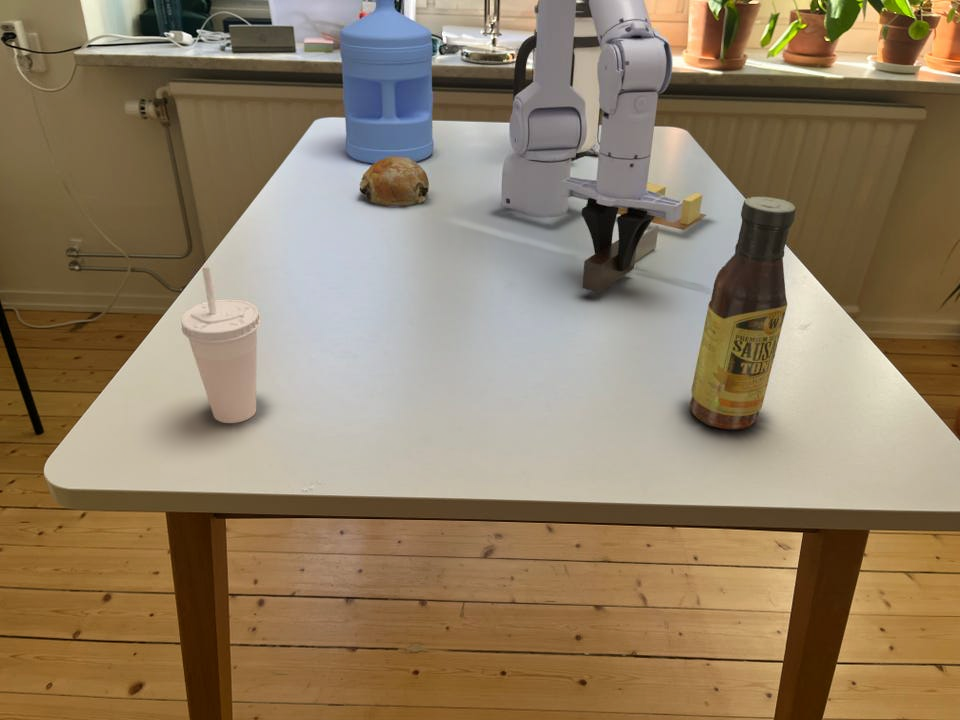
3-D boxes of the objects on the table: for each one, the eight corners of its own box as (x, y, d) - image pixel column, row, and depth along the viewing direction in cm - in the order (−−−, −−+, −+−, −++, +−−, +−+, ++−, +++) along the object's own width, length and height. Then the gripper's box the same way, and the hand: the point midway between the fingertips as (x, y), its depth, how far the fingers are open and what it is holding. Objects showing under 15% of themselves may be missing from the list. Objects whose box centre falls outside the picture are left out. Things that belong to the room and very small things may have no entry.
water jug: (347, 142, 153) (337, -22, 140) (431, 142, 155) (429, -21, 141) (344, 166, 140) (333, -13, 126) (436, 165, 141) (435, -12, 128)
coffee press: (519, 141, 157) (527, -32, 142) (603, 145, 155) (620, -29, 140) (510, 166, 142) (517, -24, 127) (602, 171, 140) (621, -21, 125)
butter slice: (679, 223, 116) (683, 199, 114) (691, 216, 118) (694, 192, 117) (687, 225, 115) (691, 201, 113) (699, 217, 118) (702, 194, 116)
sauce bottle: (720, 441, 71) (764, 222, 61) (673, 406, 75) (707, 197, 66) (776, 422, 73) (826, 210, 64) (727, 389, 78) (767, 187, 68)
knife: (581, 288, 95) (584, 260, 94) (647, 245, 107) (650, 220, 105) (598, 293, 94) (601, 265, 92) (662, 249, 106) (666, 223, 104)
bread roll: (406, 232, 123) (428, 187, 119) (346, 198, 122) (365, 152, 118) (423, 211, 131) (444, 168, 127) (367, 179, 131) (386, 135, 127)
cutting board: (594, 214, 121) (595, 208, 120) (620, 201, 127) (621, 195, 126) (682, 236, 114) (683, 229, 113) (705, 221, 119) (706, 214, 119)
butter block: (608, 206, 121) (610, 183, 120) (620, 199, 124) (623, 177, 122) (650, 216, 118) (653, 193, 116) (663, 209, 121) (666, 186, 119)
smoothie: (205, 393, 76) (181, 252, 69) (276, 391, 76) (259, 251, 69) (190, 433, 70) (162, 283, 63) (266, 430, 71) (246, 282, 64)
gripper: (550, 148, 92) (543, 260, 99) (669, 172, 85) (653, 292, 91) (582, 136, 97) (573, 244, 104) (697, 158, 89) (679, 272, 96)
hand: (612, 265), depth 98 cm, fingers closed on knife, 2 cm apart
